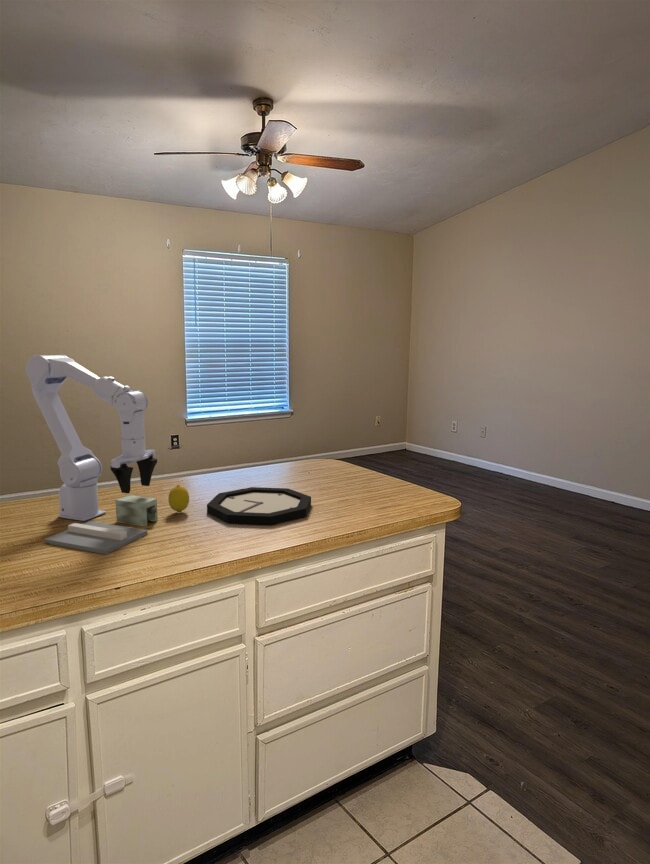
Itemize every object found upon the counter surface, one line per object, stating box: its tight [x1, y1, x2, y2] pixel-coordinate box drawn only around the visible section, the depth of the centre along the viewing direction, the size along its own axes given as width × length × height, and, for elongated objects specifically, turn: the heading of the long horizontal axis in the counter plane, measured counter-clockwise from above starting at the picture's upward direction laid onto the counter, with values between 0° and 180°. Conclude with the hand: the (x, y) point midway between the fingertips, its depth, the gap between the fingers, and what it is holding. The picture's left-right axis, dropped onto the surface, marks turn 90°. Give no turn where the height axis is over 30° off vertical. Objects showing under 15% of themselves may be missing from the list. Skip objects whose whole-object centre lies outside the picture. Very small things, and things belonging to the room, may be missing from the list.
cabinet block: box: [114, 494, 158, 527], centre depth 140 cm, size 10×5×6 cm, turn 69°
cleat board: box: [44, 520, 148, 555], centre depth 127 cm, size 18×14×2 cm
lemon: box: [168, 484, 190, 514], centre depth 147 cm, size 6×6×8 cm
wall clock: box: [206, 486, 312, 527], centre depth 152 cm, size 30×3×30 cm
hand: (135, 489), depth 139 cm, fingers open, 7 cm apart
